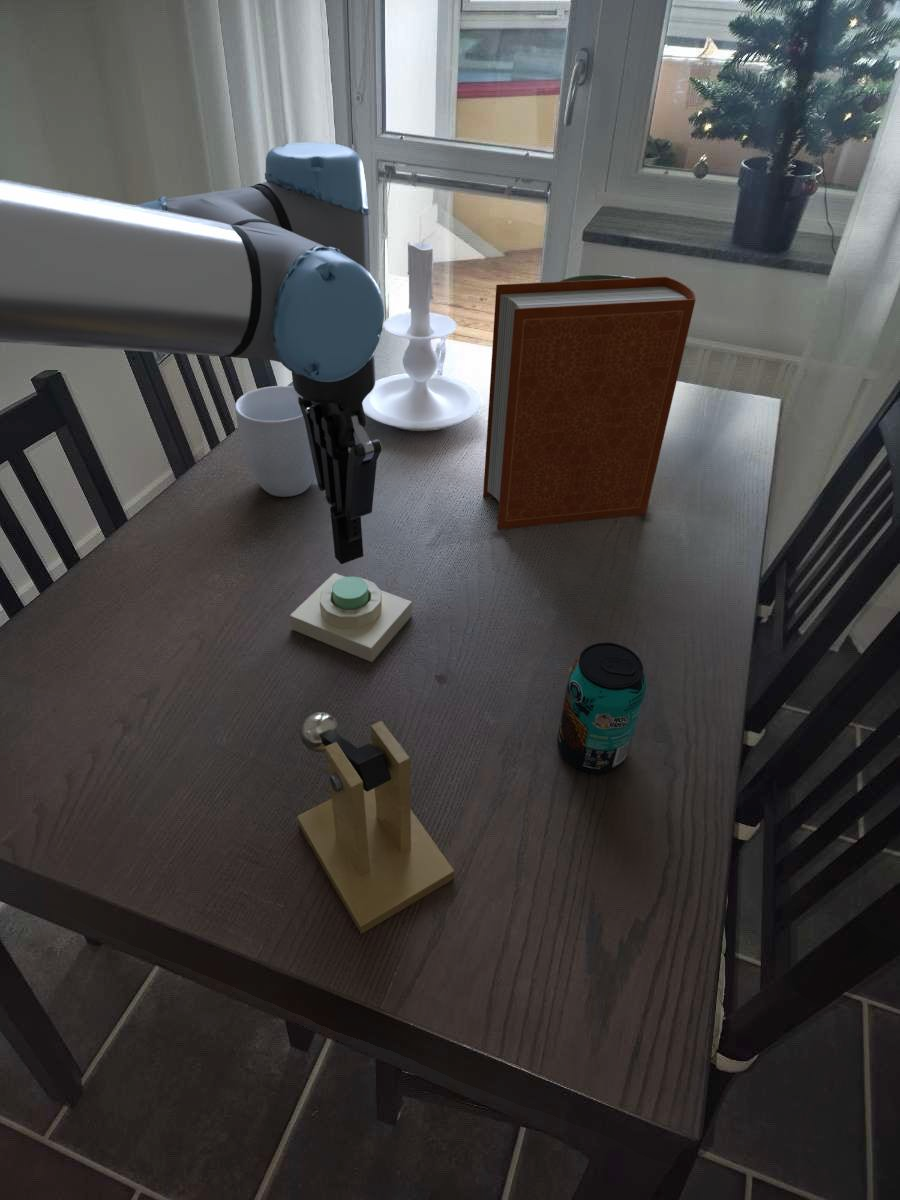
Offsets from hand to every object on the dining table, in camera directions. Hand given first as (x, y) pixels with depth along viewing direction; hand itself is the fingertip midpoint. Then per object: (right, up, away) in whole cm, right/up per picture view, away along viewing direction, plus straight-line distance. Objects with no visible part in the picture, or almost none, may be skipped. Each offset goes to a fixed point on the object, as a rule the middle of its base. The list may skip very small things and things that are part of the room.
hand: (349, 556), depth 83 cm
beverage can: (+25, -20, -7) cm, 33 cm away
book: (+28, +9, +26) cm, 39 cm away
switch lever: (+2, -19, -19) cm, 27 cm away
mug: (-12, +12, +29) cm, 33 cm away
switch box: (0, -7, +6) cm, 10 cm away
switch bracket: (+4, -27, -16) cm, 32 cm away
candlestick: (+7, +28, +47) cm, 55 cm away
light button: (0, -5, +4) cm, 6 cm away
